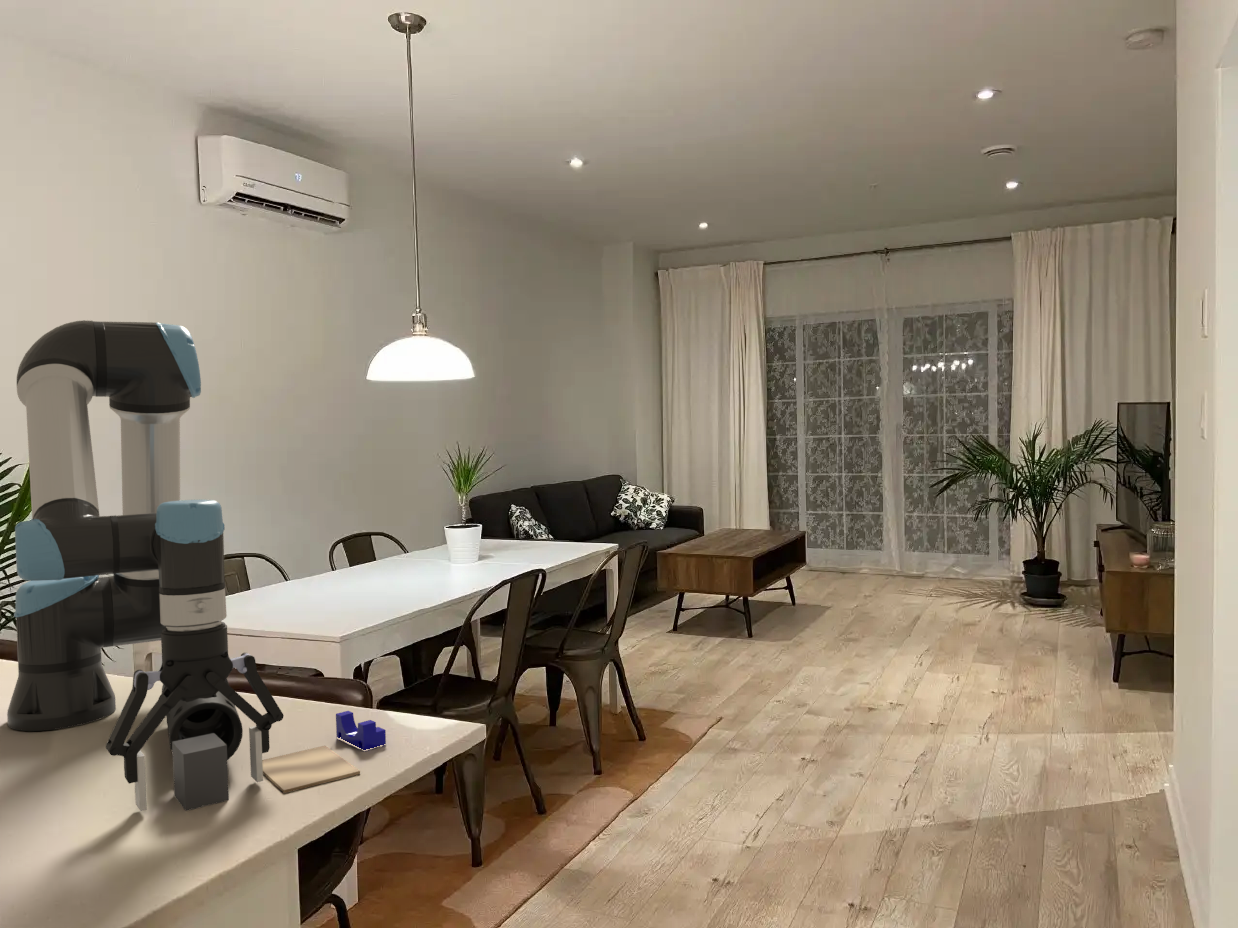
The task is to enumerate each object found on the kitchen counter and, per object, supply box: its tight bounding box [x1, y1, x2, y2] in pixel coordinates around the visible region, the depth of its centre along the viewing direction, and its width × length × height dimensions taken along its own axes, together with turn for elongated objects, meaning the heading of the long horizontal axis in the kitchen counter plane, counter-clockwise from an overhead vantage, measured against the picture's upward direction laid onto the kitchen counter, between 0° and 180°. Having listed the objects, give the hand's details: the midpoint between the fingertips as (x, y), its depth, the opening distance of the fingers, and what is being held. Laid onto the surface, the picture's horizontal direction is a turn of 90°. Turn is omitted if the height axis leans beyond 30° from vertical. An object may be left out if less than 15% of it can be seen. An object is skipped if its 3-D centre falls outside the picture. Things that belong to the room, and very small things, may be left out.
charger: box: [171, 733, 230, 812], centre depth 117 cm, size 8×5×7 cm, turn 38°
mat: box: [262, 745, 361, 794], centre depth 125 cm, size 13×10×1 cm
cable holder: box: [335, 710, 387, 750], centre depth 136 cm, size 8×4×4 cm, turn 45°
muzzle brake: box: [161, 678, 244, 761], centre depth 136 cm, size 10×28×10 cm, turn 28°
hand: (201, 792), depth 116 cm, fingers open, 13 cm apart
